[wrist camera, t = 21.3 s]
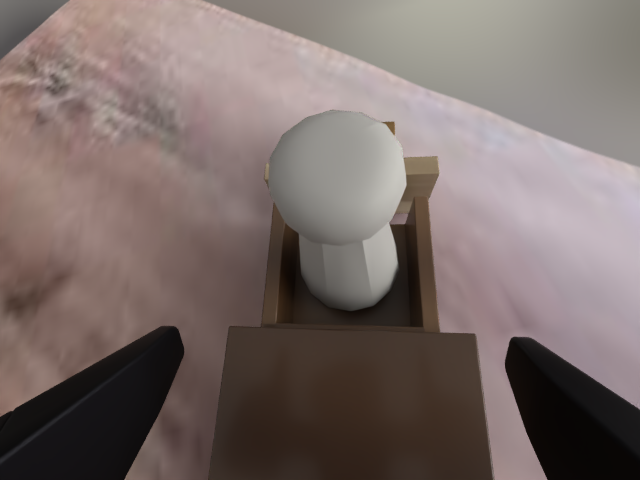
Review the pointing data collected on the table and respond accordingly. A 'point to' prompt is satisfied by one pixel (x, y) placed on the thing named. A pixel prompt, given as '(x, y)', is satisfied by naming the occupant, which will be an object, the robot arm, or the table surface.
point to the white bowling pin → (341, 204)
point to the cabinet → (350, 406)
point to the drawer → (407, 291)
